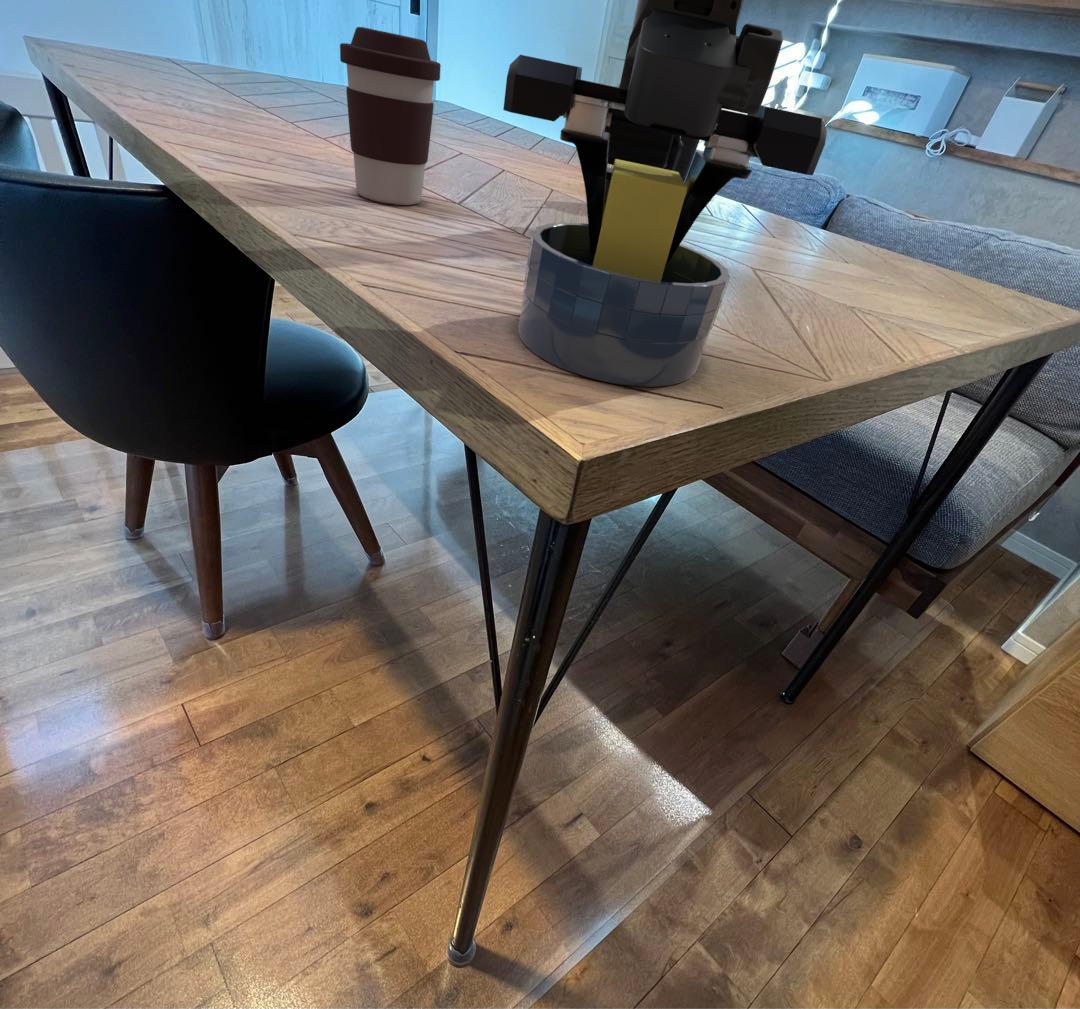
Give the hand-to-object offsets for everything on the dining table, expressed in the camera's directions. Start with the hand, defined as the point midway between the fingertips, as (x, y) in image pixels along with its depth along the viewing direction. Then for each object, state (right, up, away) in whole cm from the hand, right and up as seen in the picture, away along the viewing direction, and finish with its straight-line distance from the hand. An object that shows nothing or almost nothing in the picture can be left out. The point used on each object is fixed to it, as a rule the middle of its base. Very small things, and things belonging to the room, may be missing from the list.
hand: (626, 260), depth 41 cm
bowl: (-1, -5, +2) cm, 6 cm away
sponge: (0, -1, +1) cm, 2 cm away
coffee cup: (-23, +18, +27) cm, 40 cm away
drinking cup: (+12, +28, +50) cm, 59 cm away
